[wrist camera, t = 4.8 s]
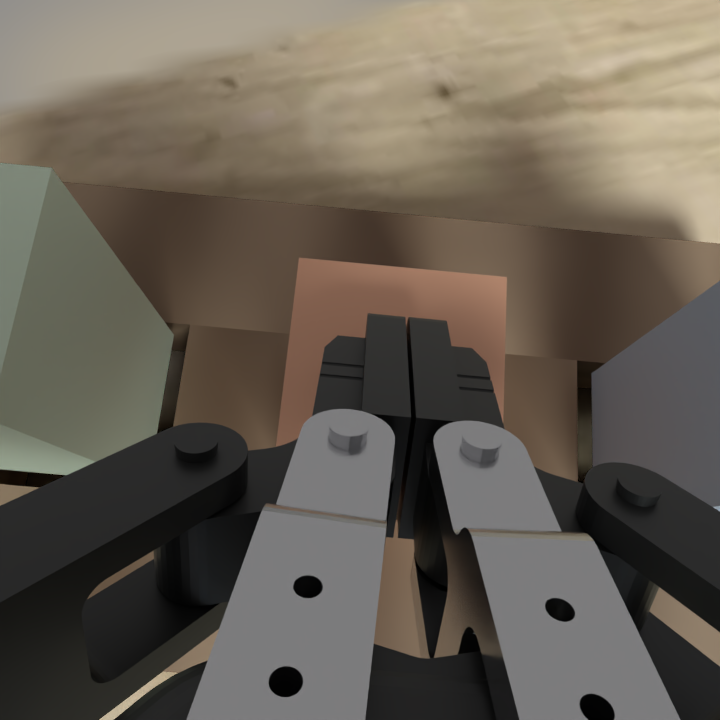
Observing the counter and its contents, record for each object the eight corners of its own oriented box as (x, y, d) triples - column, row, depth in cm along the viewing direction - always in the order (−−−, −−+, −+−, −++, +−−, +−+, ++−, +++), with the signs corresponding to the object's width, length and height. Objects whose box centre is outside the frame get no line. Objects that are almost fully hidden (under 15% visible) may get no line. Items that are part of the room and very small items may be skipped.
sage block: (173, 334, 20) (51, 167, 11) (148, 482, 19) (-11, 419, 10) (27, 321, 20) (-207, 143, 11) (-9, 468, 19) (-301, 393, 10)
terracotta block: (442, 383, 23) (507, 276, 14) (435, 515, 22) (501, 487, 13) (313, 371, 23) (299, 257, 14) (298, 503, 21) (273, 466, 13)
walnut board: (713, 283, 25) (763, 247, 22) (742, 704, 21) (808, 728, 18) (59, 222, 24) (22, 177, 22) (-39, 635, 20) (-101, 648, 18)
